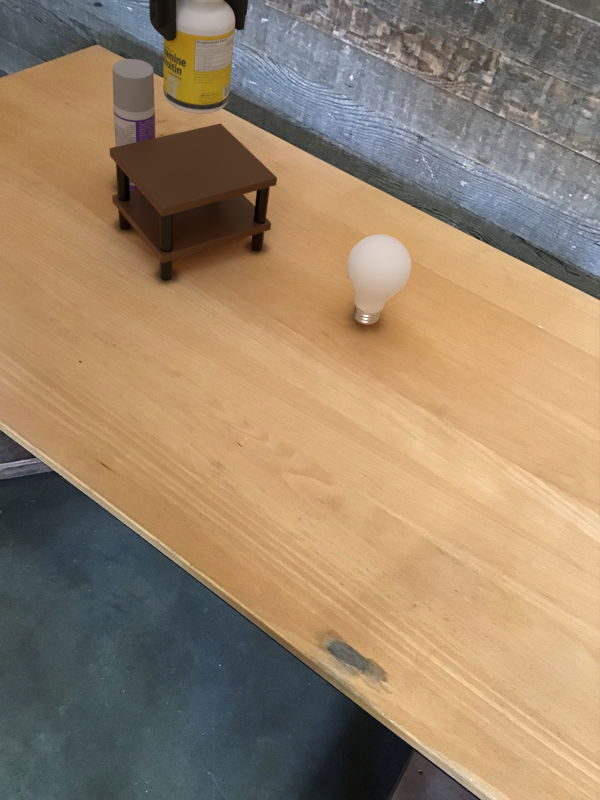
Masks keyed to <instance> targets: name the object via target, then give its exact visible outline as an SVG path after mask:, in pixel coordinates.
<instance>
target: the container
mask: <svg viewBox="0 0 600 800" xmlns="http://www.w3.org/2000/svg"><path fill="white" fill-rule="evenodd" d="M111 69H112V102H113V103H112V104H113V105H112V106H113V110H112V111H113V124H114V142H115V144H114V145H115V146H114V147H117V146H122V145H126V144H131V143H135V142H140V141H144V140H148V139H153V138H156V103H155V102H156V101H155V78H154V67H153V65H151V64H150V63H149V62H146V61H145V60H141V59H136V58H125V59H121V60H118V61H115V63H113V64H112V67H111ZM136 189H138V188H137V187H136V186H135V185H134V183H133V182H132V181H131V180H130V191H132V190H136Z"/></svg>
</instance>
